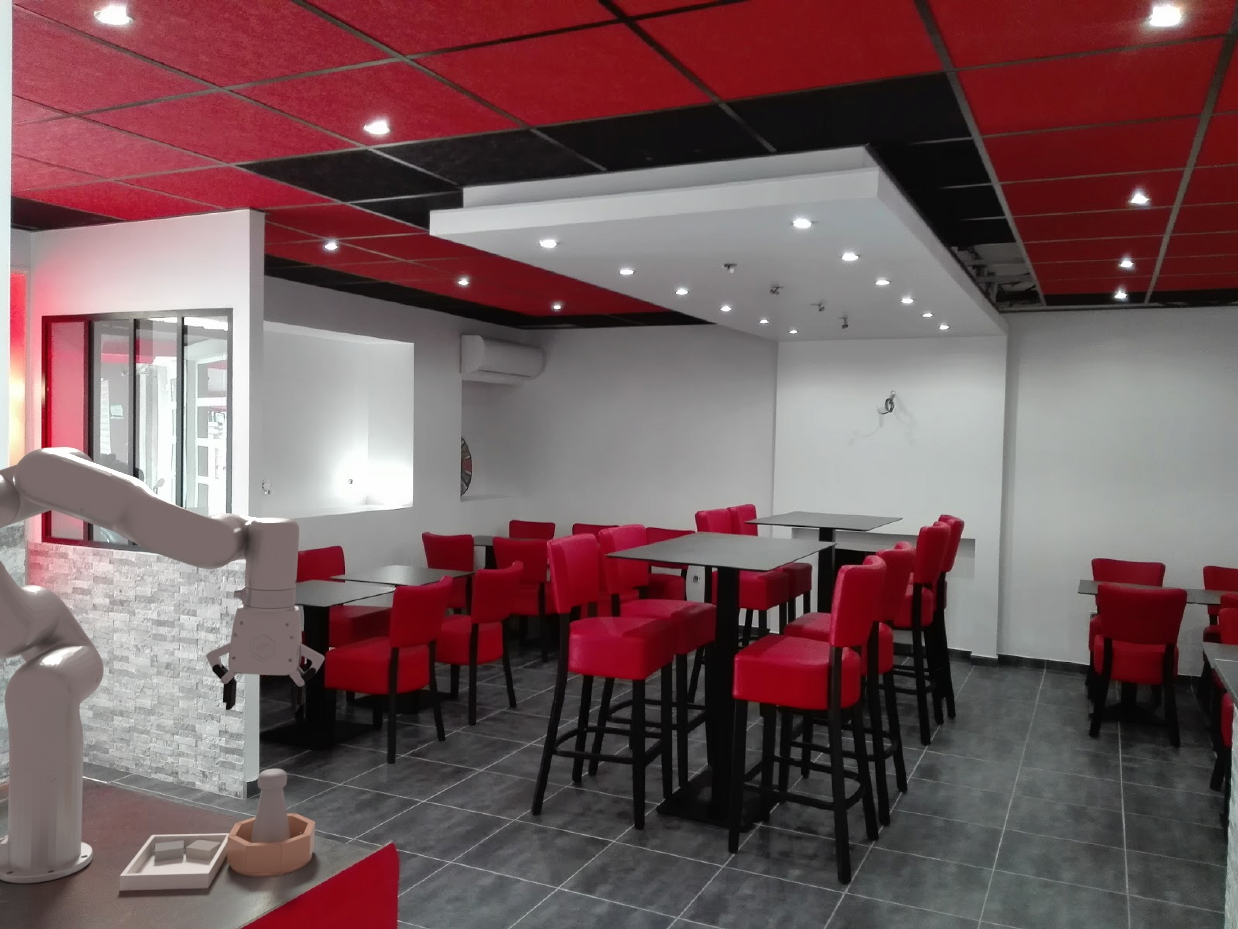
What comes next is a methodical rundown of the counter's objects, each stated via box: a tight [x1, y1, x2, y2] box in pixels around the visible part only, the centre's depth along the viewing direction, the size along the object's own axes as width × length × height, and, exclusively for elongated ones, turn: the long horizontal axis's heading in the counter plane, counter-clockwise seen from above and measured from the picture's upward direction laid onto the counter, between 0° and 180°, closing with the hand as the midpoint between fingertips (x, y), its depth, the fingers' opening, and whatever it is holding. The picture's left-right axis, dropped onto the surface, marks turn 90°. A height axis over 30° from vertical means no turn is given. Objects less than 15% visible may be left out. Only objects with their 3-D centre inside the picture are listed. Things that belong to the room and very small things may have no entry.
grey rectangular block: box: [155, 840, 184, 862], centre depth 150 cm, size 4×3×2 cm
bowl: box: [226, 812, 316, 878], centre depth 150 cm, size 12×12×5 cm
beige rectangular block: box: [186, 840, 221, 861], centre depth 151 cm, size 4×3×2 cm
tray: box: [119, 832, 230, 892], centre depth 146 cm, size 12×14×2 cm
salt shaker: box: [250, 768, 290, 843], centre depth 150 cm, size 6×6×13 cm
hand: (263, 708), depth 150 cm, fingers open, 9 cm apart
